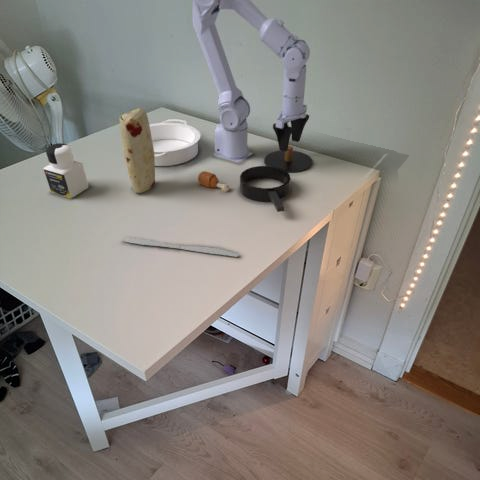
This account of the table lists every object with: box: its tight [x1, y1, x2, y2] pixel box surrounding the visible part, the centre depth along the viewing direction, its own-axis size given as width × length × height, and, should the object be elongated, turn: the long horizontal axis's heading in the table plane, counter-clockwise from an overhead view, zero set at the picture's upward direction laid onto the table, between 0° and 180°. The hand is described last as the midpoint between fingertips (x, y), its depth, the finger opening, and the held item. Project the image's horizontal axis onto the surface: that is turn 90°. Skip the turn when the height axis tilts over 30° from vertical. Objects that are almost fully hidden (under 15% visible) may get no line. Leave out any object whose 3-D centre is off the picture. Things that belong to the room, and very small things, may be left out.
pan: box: [239, 165, 292, 203], centre depth 116 cm, size 13×13×4 cm
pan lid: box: [263, 145, 313, 174], centre depth 128 cm, size 14×14×5 cm
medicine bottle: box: [43, 142, 89, 200], centre depth 114 cm, size 7×7×12 cm
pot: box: [149, 118, 201, 167], centre depth 134 cm, size 29×22×5 cm
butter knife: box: [123, 237, 240, 258], centre depth 99 cm, size 1×27×3 cm
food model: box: [118, 107, 156, 194], centre depth 112 cm, size 10×7×20 cm
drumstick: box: [197, 171, 230, 193], centre depth 118 cm, size 10×4×4 cm, turn 57°
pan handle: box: [268, 190, 286, 213], centre depth 108 cm, size 9×2×1 cm, turn 12°
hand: (289, 145), depth 126 cm, fingers open, 7 cm apart
